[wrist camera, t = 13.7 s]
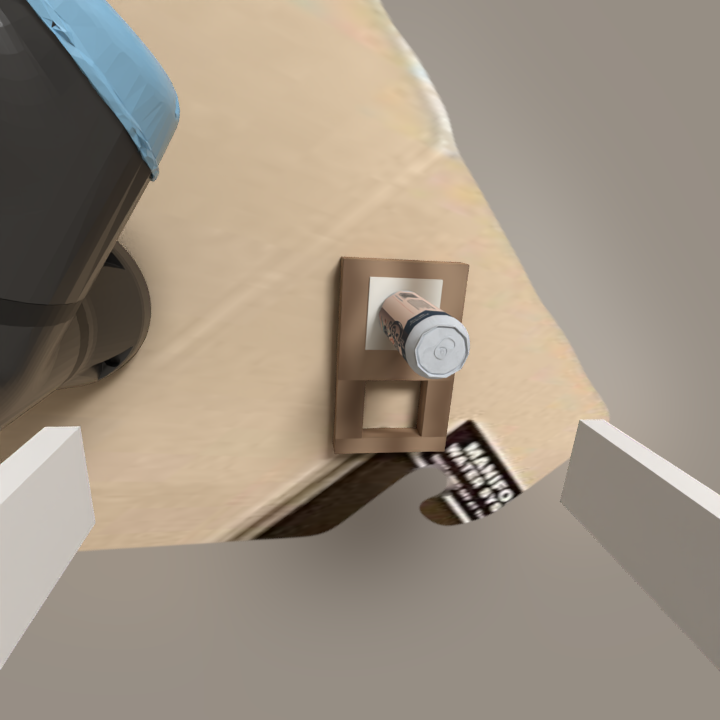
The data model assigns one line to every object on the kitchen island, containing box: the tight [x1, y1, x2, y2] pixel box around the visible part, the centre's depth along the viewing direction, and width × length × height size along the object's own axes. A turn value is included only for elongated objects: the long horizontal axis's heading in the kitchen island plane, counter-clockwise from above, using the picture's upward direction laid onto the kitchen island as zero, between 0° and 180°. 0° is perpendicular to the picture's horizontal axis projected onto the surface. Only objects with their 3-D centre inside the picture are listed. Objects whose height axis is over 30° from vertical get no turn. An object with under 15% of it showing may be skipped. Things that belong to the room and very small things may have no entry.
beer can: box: [378, 291, 470, 379], centre depth 35 cm, size 5×5×12 cm
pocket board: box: [333, 257, 469, 454], centre depth 44 cm, size 12×20×2 cm, turn 177°
